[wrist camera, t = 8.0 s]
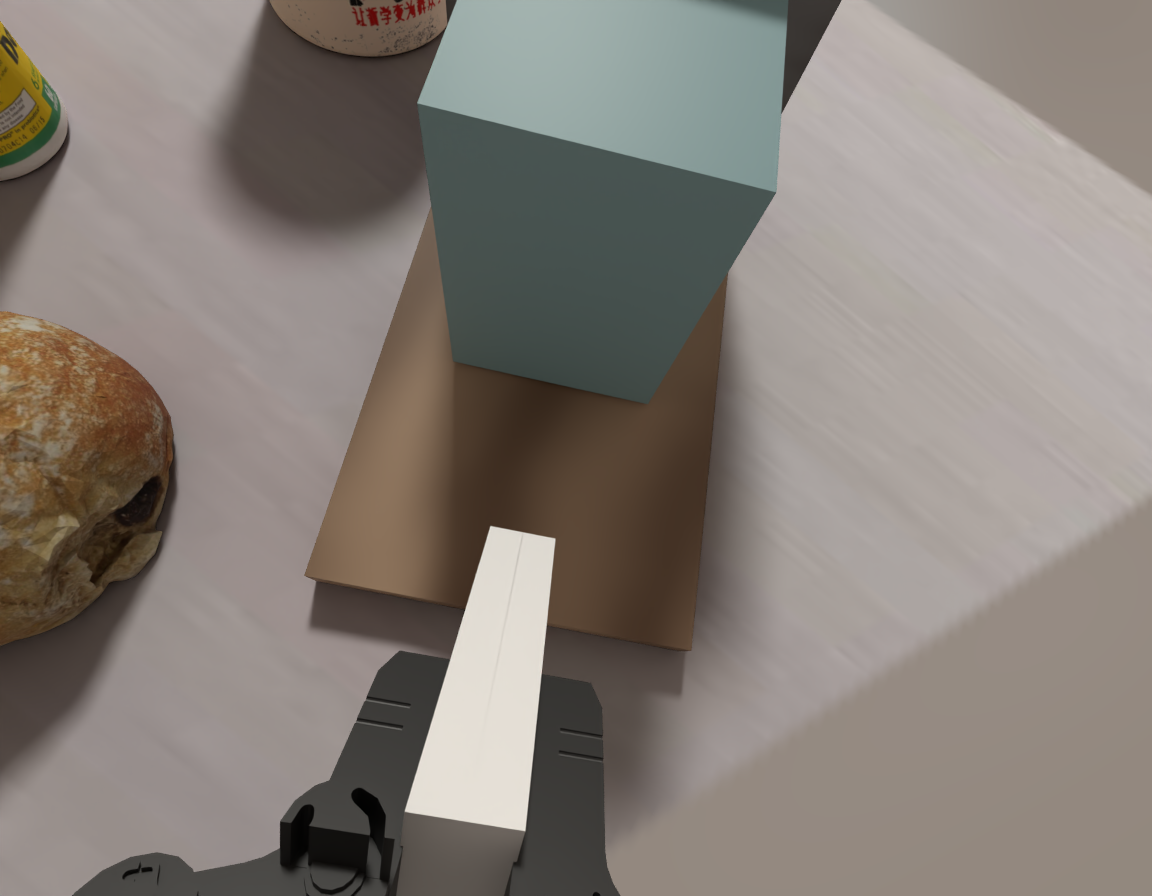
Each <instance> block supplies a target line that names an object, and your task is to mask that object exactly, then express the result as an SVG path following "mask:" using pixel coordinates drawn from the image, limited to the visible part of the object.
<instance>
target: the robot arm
mask: <svg viewBox="0 0 1152 896" xmlns="http://www.w3.org/2000/svg"><path fill="white" fill-rule="evenodd" d="M554 548H555V538H549V537H544V536H539V535H534V534H529V533H524V532H519V531H513V530H508V529H503V528H498V527H493V526H490V530H489V533H488V536H487V540H486V543H485V546H484V550H483V553H482V556H481V560H480V563H479V566H478V570H477V573H476V576H475V579H474V583H473V586H472V589H471V593H470V596H469V599H468V603H467V606H466V609H465V613H464V616H463V619H462V623H461V626H460V629H459V633H458V636H457V639H456V643H455V646H454V649H453V653H452V656H451V659H450V660H449V659H444V658H438V657H433V656H427V655H421V654H416V653H410V652H405V651H399V652H398V653H396V654H395V655H394V656H393V657H392V658H391V659H390V660H389V661H388V662H387V663H386V664H385V665H384V666H383V667H381V668H380V669H379V670H378V672H377V675H376V677H375V679H374V681H373V684H372V686H371V688H370V690H369V693H368V695H367V698H366V701H365V702H364V704H363V706H362V708H361V711H360V713H359V715H358V717H357V721H356V723H355V724H354V726H353V729H352V731H351V733H350V735H349V738H348V740H347V742H346V744H345V747H344V749H343V751H342V753H341V756H340V758H339V760H338V762H337V765H336V767H335V769H334V771H333V774H332V776H331V778H330V780H329V781H327V782H324V783H321V784H318V785H316V786H314V787H313V788H311V789H310V790H309V791H307V792H306V793H305V794H303V795H302V796H301V797H299V798H298V799H297V800H295V801H294V803H293V804H292V806H291V807H290V808H289V810H288V811H287V813H286V814H285V815H284V817H283V818H282V820H281V821H280V849H278V850H276V851H274V852H272V853H270V854H268V855H266V856H264V857H262V858H258V859H255V860H252V861H248V862H245V863H240V864H235V865H230V866H225V867H220V868H214V869H209V870H204V871H199V872H193V869H192V868H191V867H189V866H188V865H187V864H186V863H185V862H184V861H183V860H182V859H181V858H179V857H177V856H172V855H167V854H162V853H151V854H145V855H140V856H134V857H130V858H128V859H126V860H124V861H122V862H119V863H117V864H115V865H113V866H111V867H109V868H107V869H105V870H103V871H101V872H100V873H99V874H98V875H96V876H95V877H94V878H93V879H91V880H90V881H89V882H88V883H86V884H85V885H84V886H83V887H81V888H80V889H79V890H78V891H76V892H75V893H74V894H73V895H72V896H620V894H619V893H618V891H617V889H616V888H615V886H614V884H613V882H612V879H611V876H610V874H609V871H608V868H607V862H606V854H605V824H604V776H603V763H602V761H603V740H602V736H603V729H602V707H601V705H600V702H599V700H598V698H597V696H596V694H595V692H594V689H593V687H592V685H591V683H588V682H582V681H576V680H571V679H565V678H560V677H554V676H549V675H543V674H542V664H543V655H544V645H545V635H546V626H547V616H548V606H549V596H550V587H551V577H552V567H553V558H554Z"/></svg>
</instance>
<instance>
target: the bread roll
mask: <svg viewBox="0 0 1152 896" xmlns="http://www.w3.org/2000/svg"><path fill="white" fill-rule="evenodd" d="M173 436H174V434H173V430H172V425H171V417H170V415H169V413H168V411H167V409H166V408H165V406H164V404H163V402H162V400H161V398H160V397H159V396H158V394H157V393H156V391H155V390H154V388H153V387H152V386H151V385H150V384H149V383H148V382H147V380H146V379H145V378H144V377H143V376H142V375H141V374H140V373H139V372H138V371H137V370H136V369H135V368H134V367H132V366H131V365H130V364H129V363H127V362H126V361H125V360H123V359H122V358H120V357H119V356H117V355H116V354H114V353H112V352H110V351H109V350H107V349H105V348H104V347H102V346H100V345H99V344H97V343H95V342H94V341H92V340H90V339H89V338H87V337H85V336H83V335H80V334H78V333H76V332H74V331H72V330H69V329H67V328H65V327H63V326H61V325H57V324H54V323H51V322H48V321H45V320H42V319H38V318H33V317H29V316H24V315H19V314H15V313H11V312H0V646H1V645H4V644H7V643H10V642H12V641H15V640H19V639H23V638H28V637H31V636H34V635H37V634H40V633H43V632H46V631H48V630H50V629H52V628H55V627H57V626H59V625H61V624H63V623H65V622H67V621H70V620H72V619H73V618H74V617H76V616H77V615H78V614H79V613H80V612H82V611H83V610H84V609H85V608H86V607H88V606H89V605H90V604H91V603H92V602H93V601H95V600H96V599H97V598H98V597H99V596H100V595H101V594H102V593H103V591H104V590H105V588H106V587H107V585H108V584H109V583H110V582H113V581H121V580H126V579H129V578H132V577H135V576H136V575H137V574H138V573H139V572H140V571H141V570H142V569H143V568H144V566H145V565H146V564H147V562H148V561H149V560H150V559H151V558H152V557H153V556H154V555H155V553H156V550H157V547H158V544H159V541H160V538H161V535H162V531H158V530H155V527H156V521H157V518H158V517H159V515H160V513H161V510H162V506H163V503H164V499H165V496H166V491H167V487H168V483H169V467H170V465H171V463H172V460H173V450H172V441H173Z"/></svg>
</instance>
